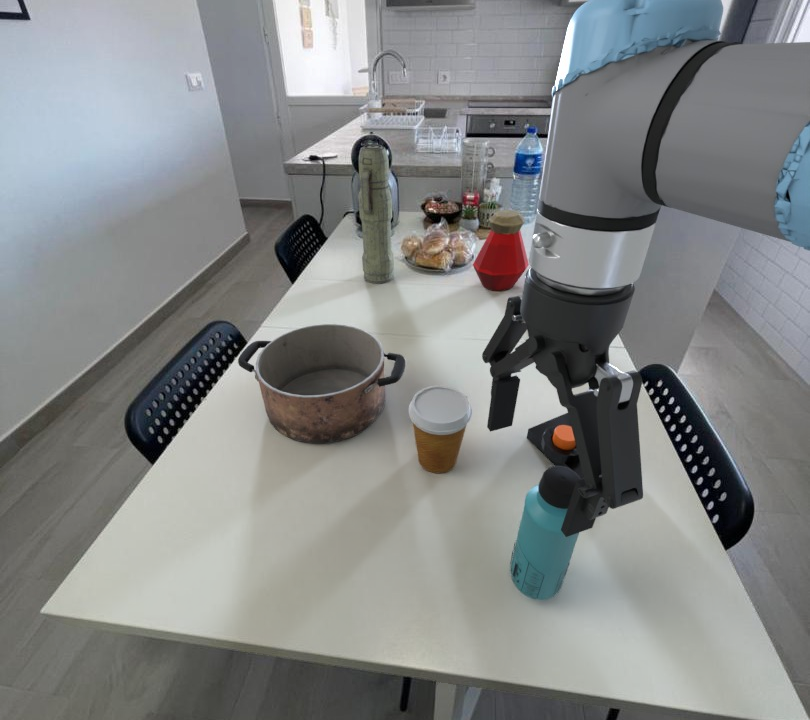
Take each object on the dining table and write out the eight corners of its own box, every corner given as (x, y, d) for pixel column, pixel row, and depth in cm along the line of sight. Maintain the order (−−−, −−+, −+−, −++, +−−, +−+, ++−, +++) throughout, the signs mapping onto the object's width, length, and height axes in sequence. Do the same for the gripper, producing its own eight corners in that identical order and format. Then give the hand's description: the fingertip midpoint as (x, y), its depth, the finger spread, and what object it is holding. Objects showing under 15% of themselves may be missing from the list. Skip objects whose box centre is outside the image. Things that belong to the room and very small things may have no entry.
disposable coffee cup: (478, 457, 74) (485, 402, 67) (441, 492, 68) (444, 435, 61) (434, 429, 79) (436, 375, 72) (396, 459, 73) (395, 404, 66)
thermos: (357, 284, 126) (347, 150, 106) (370, 267, 136) (363, 141, 115) (387, 287, 125) (383, 151, 104) (398, 270, 134) (396, 142, 114)
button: (580, 445, 71) (583, 436, 70) (563, 453, 69) (566, 444, 68) (564, 431, 73) (567, 422, 72) (547, 438, 72) (549, 429, 71)
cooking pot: (225, 433, 78) (209, 386, 72) (277, 360, 96) (268, 317, 90) (392, 456, 74) (390, 407, 68) (414, 375, 92) (414, 330, 85)
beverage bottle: (570, 596, 55) (613, 492, 43) (525, 618, 53) (557, 515, 41) (538, 550, 60) (569, 446, 48) (496, 569, 58) (517, 465, 46)
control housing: (623, 465, 72) (630, 447, 70) (571, 491, 68) (576, 473, 66) (569, 419, 81) (574, 402, 78) (520, 440, 77) (523, 423, 74)
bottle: (503, 269, 134) (512, 201, 122) (536, 286, 124) (549, 214, 113) (461, 281, 127) (466, 211, 116) (491, 300, 118) (500, 225, 106)
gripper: (458, 225, 41) (447, 402, 53) (679, 386, 21) (581, 606, 34) (530, 215, 43) (503, 388, 55) (791, 356, 23) (660, 574, 36)
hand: (533, 471), depth 44 cm, fingers open, 13 cm apart
